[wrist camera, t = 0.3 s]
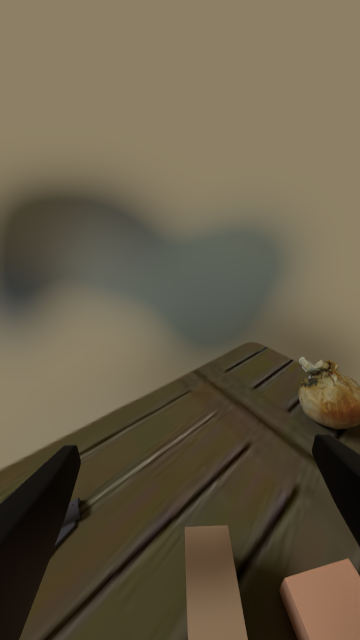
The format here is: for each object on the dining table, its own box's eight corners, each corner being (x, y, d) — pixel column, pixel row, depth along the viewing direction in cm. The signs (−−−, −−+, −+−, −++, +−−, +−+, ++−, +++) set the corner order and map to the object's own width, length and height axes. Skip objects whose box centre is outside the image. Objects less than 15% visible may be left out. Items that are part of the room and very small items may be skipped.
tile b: (416, 710, 11) (439, 702, 10) (336, 746, 11) (352, 742, 10) (338, 573, 16) (348, 558, 15) (278, 592, 15) (284, 578, 14)
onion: (295, 433, 26) (310, 382, 23) (289, 389, 33) (300, 346, 30) (370, 453, 24) (399, 400, 20) (347, 402, 31) (366, 356, 27)
